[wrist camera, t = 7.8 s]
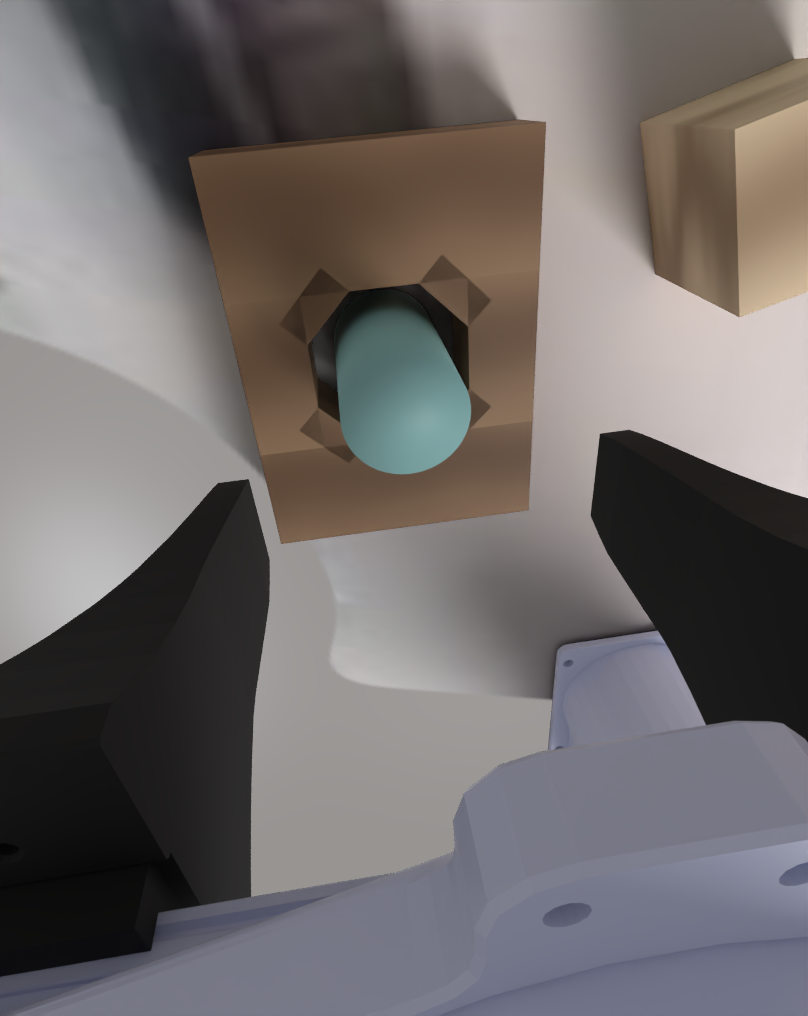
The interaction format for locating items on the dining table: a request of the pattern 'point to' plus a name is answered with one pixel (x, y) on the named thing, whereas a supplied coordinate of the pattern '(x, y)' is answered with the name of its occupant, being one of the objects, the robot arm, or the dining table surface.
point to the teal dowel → (397, 385)
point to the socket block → (376, 264)
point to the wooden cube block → (733, 191)
